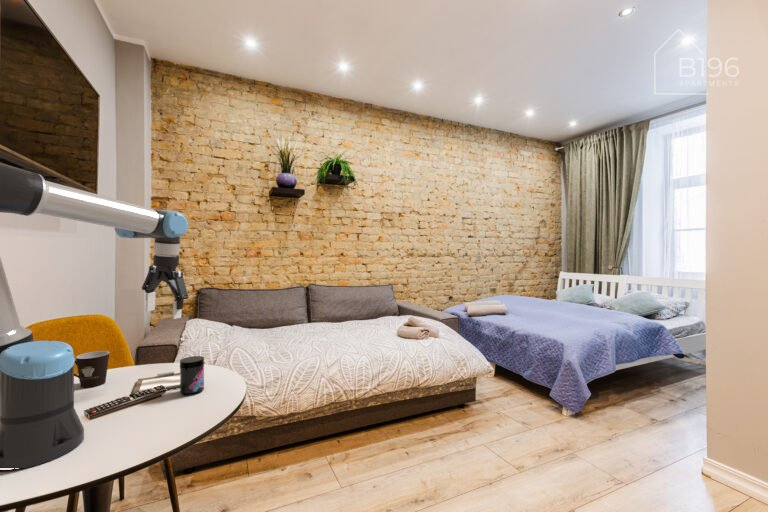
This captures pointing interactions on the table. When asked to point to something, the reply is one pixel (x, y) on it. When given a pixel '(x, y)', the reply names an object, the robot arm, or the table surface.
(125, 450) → the table surface
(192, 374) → the supplement container
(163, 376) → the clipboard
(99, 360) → the coffee mug
